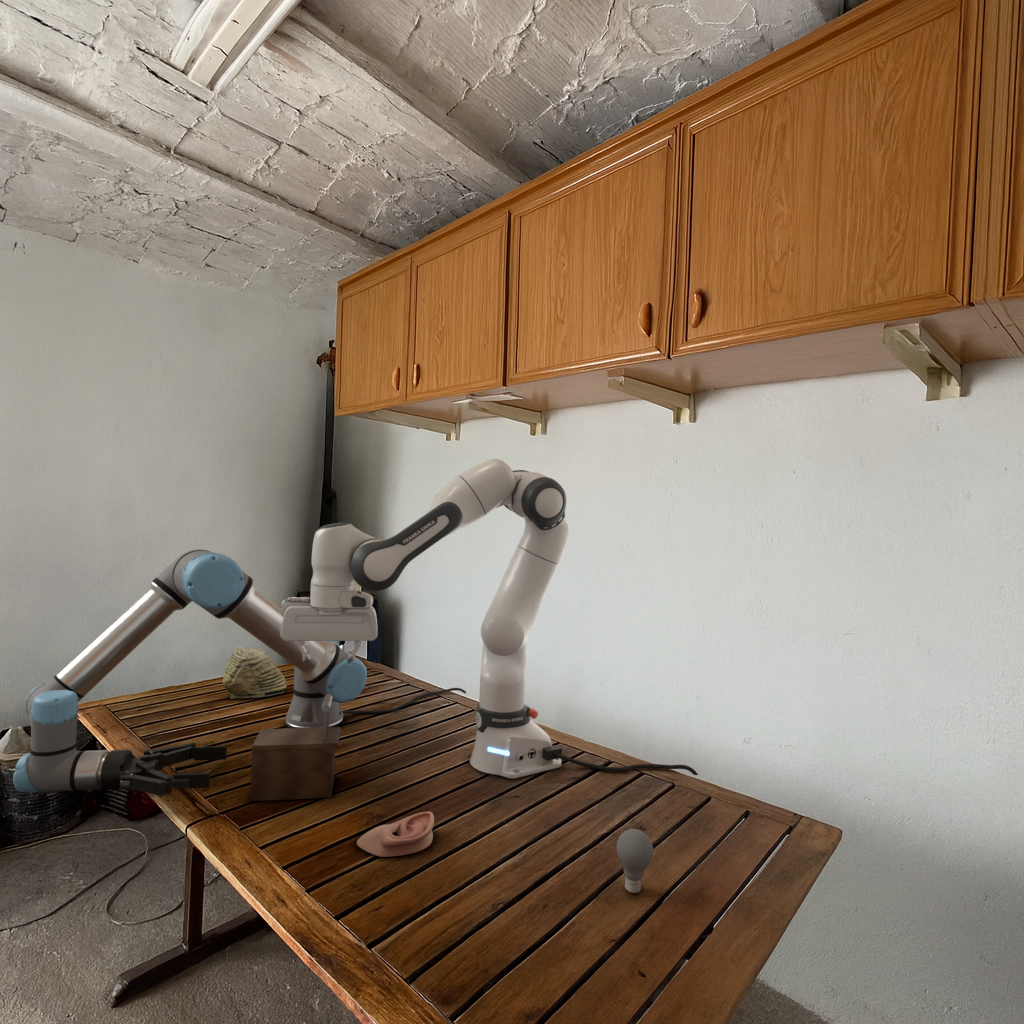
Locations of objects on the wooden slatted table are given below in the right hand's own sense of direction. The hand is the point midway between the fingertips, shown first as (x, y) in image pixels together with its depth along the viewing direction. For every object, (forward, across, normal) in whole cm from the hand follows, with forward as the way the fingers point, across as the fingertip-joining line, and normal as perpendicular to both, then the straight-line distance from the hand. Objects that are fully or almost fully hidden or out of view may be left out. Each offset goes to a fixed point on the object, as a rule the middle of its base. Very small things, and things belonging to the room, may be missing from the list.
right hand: (329, 660), depth 137 cm
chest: (+28, -6, 0) cm, 29 cm away
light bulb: (+28, +53, -44) cm, 75 cm away
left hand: (+22, -22, 0) cm, 31 cm away
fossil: (+28, -27, +67) cm, 77 cm away
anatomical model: (+28, +15, -24) cm, 40 cm away
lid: (+17, -6, 0) cm, 18 cm away
